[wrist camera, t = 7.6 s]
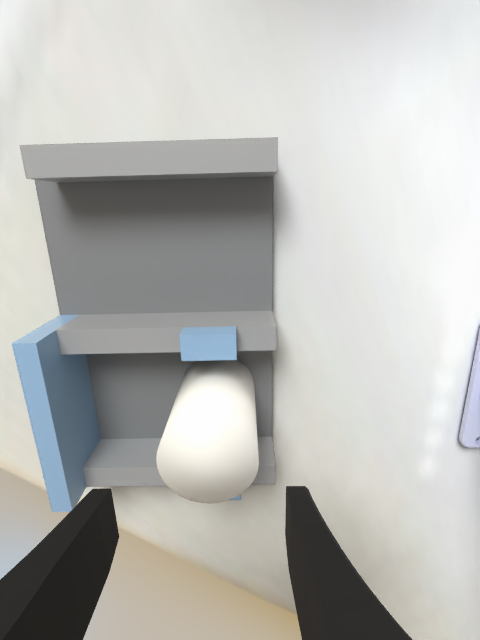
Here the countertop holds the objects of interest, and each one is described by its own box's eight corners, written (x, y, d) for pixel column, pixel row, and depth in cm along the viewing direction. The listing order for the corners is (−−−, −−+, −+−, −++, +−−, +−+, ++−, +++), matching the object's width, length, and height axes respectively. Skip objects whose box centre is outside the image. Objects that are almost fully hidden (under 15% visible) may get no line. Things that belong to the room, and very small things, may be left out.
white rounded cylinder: (254, 353, 19) (258, 417, 13) (254, 418, 20) (259, 502, 14) (179, 354, 19) (151, 418, 13) (184, 419, 20) (161, 503, 14)
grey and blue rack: (271, 149, 16) (282, 128, 12) (271, 447, 21) (278, 509, 17) (37, 156, 17) (-38, 138, 12) (91, 449, 21) (52, 512, 17)
